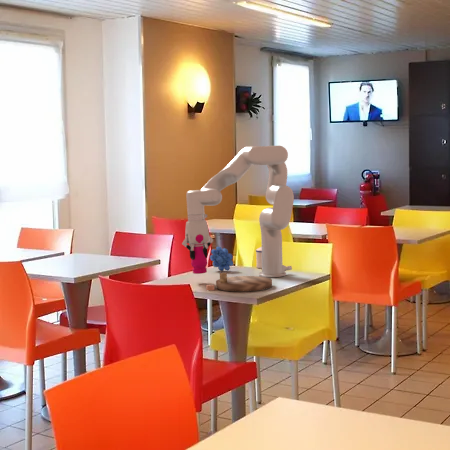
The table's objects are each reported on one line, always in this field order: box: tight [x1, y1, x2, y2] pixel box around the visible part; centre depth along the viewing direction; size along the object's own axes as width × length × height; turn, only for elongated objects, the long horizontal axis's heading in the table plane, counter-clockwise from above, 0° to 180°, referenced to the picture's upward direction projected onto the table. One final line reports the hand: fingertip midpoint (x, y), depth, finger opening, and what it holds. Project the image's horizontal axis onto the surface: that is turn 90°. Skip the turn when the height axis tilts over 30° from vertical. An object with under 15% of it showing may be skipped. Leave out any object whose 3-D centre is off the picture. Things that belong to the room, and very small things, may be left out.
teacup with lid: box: [255, 246, 262, 270], centre depth 396 cm, size 12×9×12 cm
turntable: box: [215, 272, 273, 292], centre depth 341 cm, size 24×24×6 cm
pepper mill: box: [190, 234, 208, 275], centre depth 355 cm, size 7×7×20 cm
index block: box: [205, 284, 215, 291], centre depth 337 cm, size 3×2×2 cm, turn 106°
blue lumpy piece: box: [209, 246, 234, 272], centre depth 387 cm, size 12×7×12 cm, turn 75°
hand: (198, 258), depth 355 cm, fingers closed on pepper mill, 5 cm apart
